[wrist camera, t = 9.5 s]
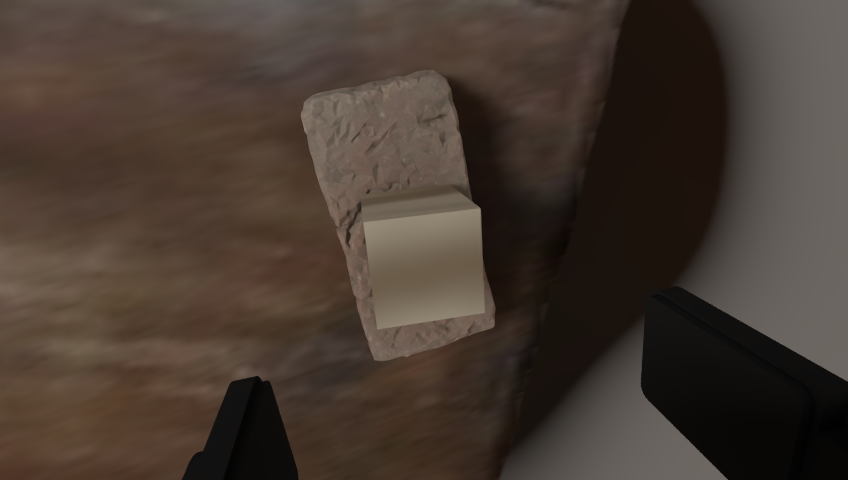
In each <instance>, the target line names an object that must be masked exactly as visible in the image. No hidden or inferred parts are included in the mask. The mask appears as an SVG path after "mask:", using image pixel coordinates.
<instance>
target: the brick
mask: <svg viewBox="0 0 848 480" xmlns="http://www.w3.org/2000/svg"><path fill="white" fill-rule="evenodd" d="M301 118H302V122H303V126H304V130H305V133H306V134H307V138H308V144H309V149H310V153H311V156H312V158H313V163H314V167H315V171H316V175H317V178H318V182H319V184H320V187H321V190H322V192H323V195H324V197H325V199H326V202H327V205H328V209H329V213H330V215H331V217H332V219H333V221H334V222H335V224H336V226H337V235H338V237H339V239H340V242H341V244H342V248H343V251H344V252H345V256H346V260H347V266H348V271H349V275H350V280H351V285H352V289H353V293H354V295H355V296H356V301H357V308H358V311H359V314H360V317H361V321H362V325H363V329H364V332H365V335H366V337H367V339H368V344H369V347H370V350H371V352H372V354H373V357H374V360H378V361H386V360H390V359H394V358H397V357H400V356H405V357H408V356H410V355H413V354H416V353H419V352H423V351H426V350H430V349H434V348H438V347H441V346H444V345H447V344H449V343H452V342H454V341H456V340H458V339H460V338H463V337H466V336H469V335H472V334H475V333H478V332H481V331H485V330H488V329H491V328H493V327H494V323H495V310H496V308H495V304H494V300H493V296H492V292H491V289H490V285H489V282H488V280H487V276H486V272H485V267H484V262H483V280H484V305H485V313H481V314H475V315H468V316H462V317H455V318H449V319H442V320H436V321H430V322H423V323H417V324H410V325H404V326H397V327H391V328H384V329H378V330H377V324H376V317H375V309H374V301H373V294H372V286H371V278H370V271H369V263H368V255H367V248H366V240H365V232H364V225H363V216H362V207H361V198H360V194H368V193H377V192H386V191H395V190H404V189H413V188H422V187H431V186H440V185H448V184H450V185H451V186H452V187H454V188H455V189H456V190H458V191H459V192H460V193H461V194H463V195H464V196H465V197H467V198H468V199H469V200H471V201H472V196H471V192H470V186H469V179H468V173H467V166H466V159H465V154H464V151H463V144H462V138H461V135H460V130H459V121H458V115H457V111H456V108H455V105H454V103H453V98H452V92H451V88H450V86H449V84H448V81H447V79H446V78H445V77H443V76H442V75H440V74H439V73H437V72H436V71H434V70H433V69H431V70H422V71H418V72H414V73H412V74H410V75H408V76H393V77H391V78H389V79H387V80H378V81H372V82H368V83H365V84H363V85H360V86H356V87H347V88H341V89H336V90H331V91H326V92H321V93H317V94H315V95H312V96H310V98H308V99H307V100H306V101H305V102H304V108H303V111H302V113H301Z"/></svg>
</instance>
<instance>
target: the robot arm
mask: <svg viewBox="0 0 848 480" xmlns="http://www.w3.org/2000/svg"><path fill="white" fill-rule="evenodd" d="M641 388H642V391H643V394H644V395H645V397H646V398H647V399H648V401H649V402H651V403H652V404H653V405H654V406H655V407H656V408H657V409H658V410H659V411H660V412H661V413H662V414H663V415H664V416H665V417H666V418H667V419H668V420H669V421H670V422H671V423H672V424H673V425H674V426H675V427H676V428H677V429H678V430H679V431H680V432H681V433H682V434H683V435H684V436H685V437H686V438H687V439H688V440H689V441H690V442H691V443H692V444H693V445H694V446H695V447H696V448H697V449H698V450H699V451H700V452H701V453H702V454H703V455H704V456H705V457H706V458H707V459H708V460H709V461H710V462H711V463H712V464H713V465H714V466H715V467H716V468H717V469H718V470H719V471H720V472H721V473H722V474H723V475H724V476H725V477H726V478H727V479H728V480H848V382H847V381H845V380H844V379H842V378H840V377H838V376H837V375H835V374H833V373H831V372H829V371H828V370H826V369H824V368H822V367H821V366H819V365H817V364H815V363H814V362H812V361H810V360H808V359H806V358H805V357H803V356H801V355H799V354H797V353H796V352H794V351H792V350H790V349H789V348H787V347H785V346H783V345H782V344H780V343H778V342H776V341H775V340H773V339H771V338H769V337H768V336H766V335H764V334H762V333H760V332H759V331H757V330H755V329H753V328H751V327H750V326H748V325H746V324H745V323H743V322H740V321H739V320H737V319H736V318H734V317H732V316H730V315H729V314H727V313H725V312H723V311H722V310H720V309H718V308H716V307H714V306H713V305H711V304H709V303H707V302H705V301H704V300H702V299H700V298H698V297H697V296H695V295H693V294H691V293H690V292H688V291H686V290H684V289H683V288H680V287H677V286H675V287H670V288H665V289H660V290H656V291H654V292H652V294H651V296H650V298H648V299H647V301H646V306H645V323H644V341H643V356H642V373H641ZM182 480H298V471H297V467H296V464H295V461H294V457H293V454H292V451H291V448H290V444H289V441H288V438H287V435H286V431H285V428H284V425H283V422H282V418H281V415H280V412H279V409H278V406H277V402H276V399H275V396H274V393H273V389H272V386H271V384H270V382H269V381H268V380H267V381H263V382H262V380H261V379H260V377H259V376H255V377H250V378H246V379H241V380H236V381H233V382H231V383H230V385H229V387H228V390H227V392H226V395H225V397H224V400H223V402H222V405H221V407H220V410H219V412H218V415H217V417H216V420H215V422H214V425H213V428H212V430H211V433H210V435H209V438H208V440H207V443H206V445H205V448H204V450H203V451H202V452H198V453H196V454H195V455H194V456H193V457H192V459H191V460H190V462H189V464H188V467H187V469H186V471H185V474H184V476H183V478H182Z"/></svg>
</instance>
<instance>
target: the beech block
mask: <svg viewBox="0 0 848 480" xmlns="http://www.w3.org/2000/svg"><path fill="white" fill-rule="evenodd" d="M360 198H361V207H362V216H363V225H364V232H365V240H366V248H367V255H368V263H369V271H370V278H371V286H372V294H373V301H374V309H375V317H376V324H377V330H378V329H384V328H391V327H397V326H404V325H410V324H417V323H423V322H430V321H436V320H442V319H449V318H455V317H462V316H468V315H475V314H481V313H485V305H484V280H483V255H482V230H481V208H480V207H478V206H477V205H476V204H475V203H473V202H472V201H471V200H469V199H468V198H467V197H465V196H464V195H463V194H461V193H460V192H459V191H458V190H456V189H455V188H454V187H452V186H451V185H450V184H448V185H440V186H431V187H422V188H413V189H404V190H395V191H386V192H377V193H368V194H360Z"/></svg>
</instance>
